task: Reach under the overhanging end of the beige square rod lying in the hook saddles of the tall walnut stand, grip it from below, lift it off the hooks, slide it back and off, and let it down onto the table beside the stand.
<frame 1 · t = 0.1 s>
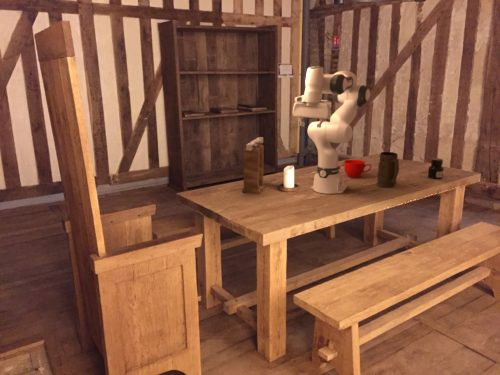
hand: (310, 127, 222), 39 cm above the table, tool pointing down, fingers open, 8 cm apart
ink bottle: (434, 177, 281), on the table
rail stand: (253, 190, 251), on the table
ceramic cup: (356, 177, 281), on the table
beer stein: (388, 186, 260), on the table
beige square rod: (255, 146, 246), point 25 cm above the table, touching rail stand
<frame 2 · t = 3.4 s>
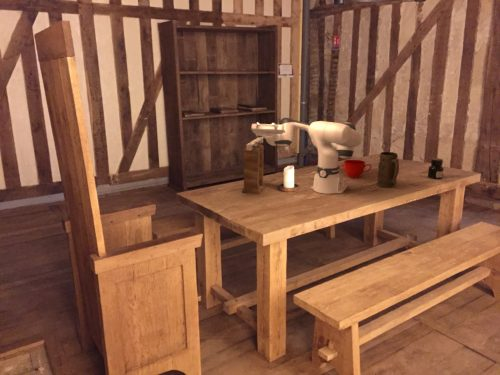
hand: (265, 123, 267), 34 cm above the table, tool pointing upward, fingers open, 8 cm apart
nothing on the table moved.
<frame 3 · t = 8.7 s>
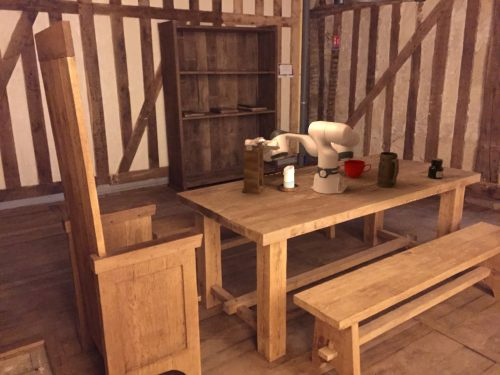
hand: (259, 140, 255), 27 cm above the table, tool pointing upward, fingers closed on beige square rod, 3 cm apart
beige square rod: (255, 146, 246), point 25 cm above the table, touching gripper, rail stand
everything else where it was.
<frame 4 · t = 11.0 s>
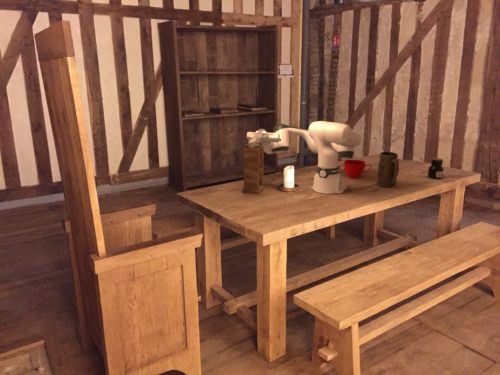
hand: (260, 132, 258), 31 cm above the table, tool pointing upward, fingers closed on beige square rod, 3 cm apart
beige square rod: (256, 140, 251), point 27 cm above the table, tilted 8°, touching gripper
everything else where it was.
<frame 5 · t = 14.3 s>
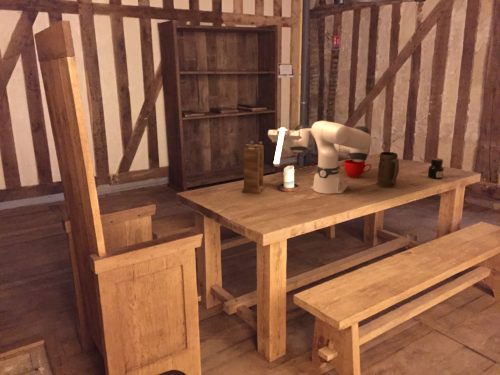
hand: (282, 129, 268), 31 cm above the table, tool pointing upward, fingers closed on beige square rod, 3 cm apart
beige square rod: (280, 148, 266), point 21 cm above the table, tilted 46°, touching gripper
everything else where it was.
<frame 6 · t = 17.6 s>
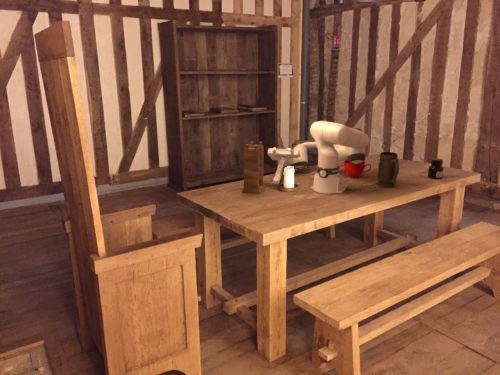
hand: (281, 148, 271), 19 cm above the table, tool pointing upward, fingers open, 8 cm apart
beige square rod: (280, 171, 272), point 6 cm above the table, tilted 25°, touching arm
everything else where it was.
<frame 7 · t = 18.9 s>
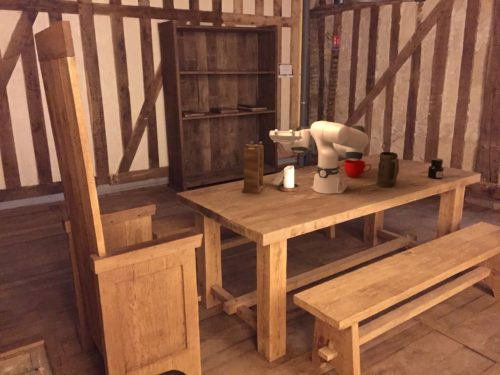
hand: (283, 130, 275), 29 cm above the table, tool pointing upward, fingers open, 8 cm apart
beige square rod: (280, 179, 275), on the table
everything else where it was.
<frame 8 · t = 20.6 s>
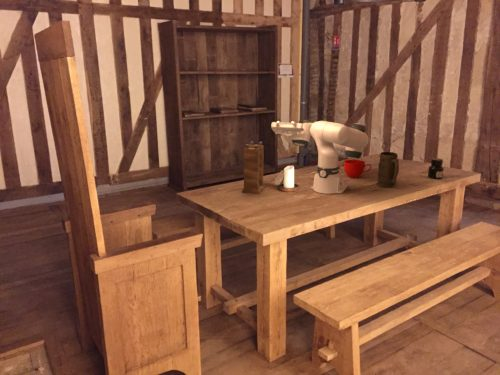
hand: (285, 122, 275), 34 cm above the table, tool pointing upward, fingers open, 8 cm apart
nothing on the table moved.
at the end: beige square rod on the table; beige square rod touching table; the gripper is holding nothing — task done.
